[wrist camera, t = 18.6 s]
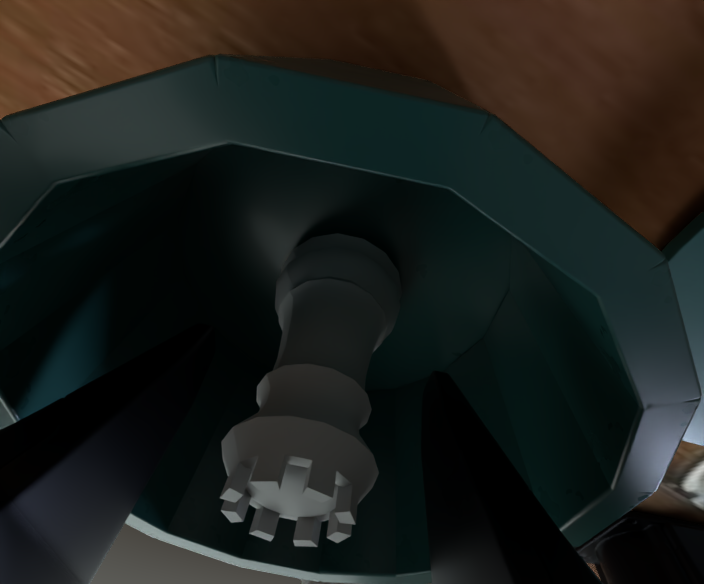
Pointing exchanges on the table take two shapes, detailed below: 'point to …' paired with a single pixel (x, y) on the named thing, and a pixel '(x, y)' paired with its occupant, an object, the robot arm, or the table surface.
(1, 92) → the table surface
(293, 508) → the rook chess piece
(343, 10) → the table surface
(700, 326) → the lid
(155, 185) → the pot
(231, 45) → the table surface
